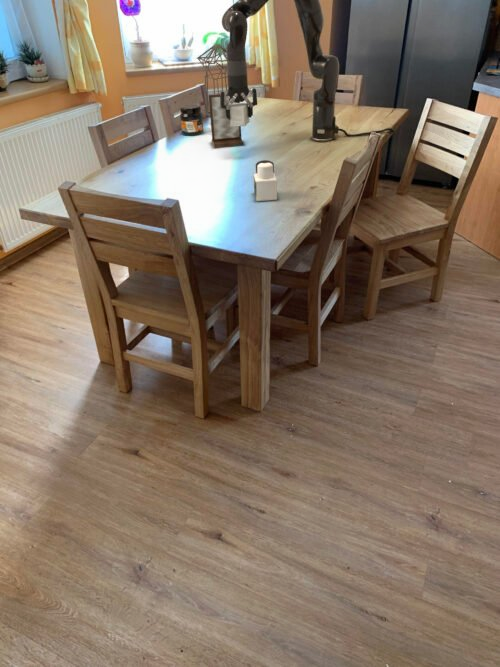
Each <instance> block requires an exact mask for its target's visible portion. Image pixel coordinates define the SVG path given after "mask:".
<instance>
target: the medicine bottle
mask: <svg viewBox="0 0 500 667" xmlns="http://www.w3.org/2000/svg"><path fill="white" fill-rule="evenodd" d="M253 190H254V191H253V192H254V197H255V201H256V202H265V201H277V200H278V179H277V177H276V174H275V164H274V162H273V161H271V160H265V159H264V160H259V161H258V162H256V163H255V173H254V174H253Z"/></svg>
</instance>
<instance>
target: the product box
mask: <svg viewBox="0 0 500 667" xmlns="http://www.w3.org/2000/svg"><path fill="white" fill-rule="evenodd" d="M248 107H249V105H248V104H247V102H240V103H233V104H232V105H231V106H230V108H229V110H230V123H231V126H241V127H246V126H247V125H248V124H249V123H250V118H249V111H248Z"/></svg>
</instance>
